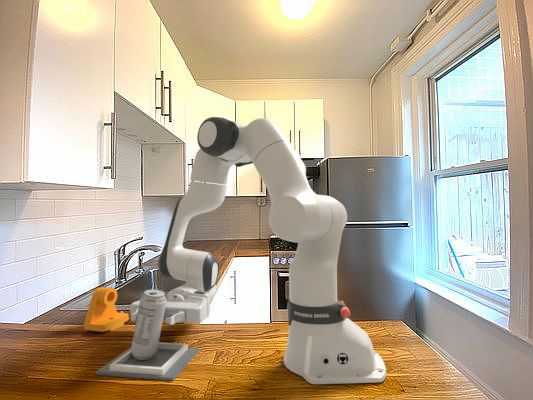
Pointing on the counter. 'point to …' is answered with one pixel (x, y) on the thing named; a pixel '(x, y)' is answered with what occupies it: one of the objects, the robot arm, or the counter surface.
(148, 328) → the energy drink can
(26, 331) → the counter surface
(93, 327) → the bracket
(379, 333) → the counter surface
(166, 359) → the framed grey tray
